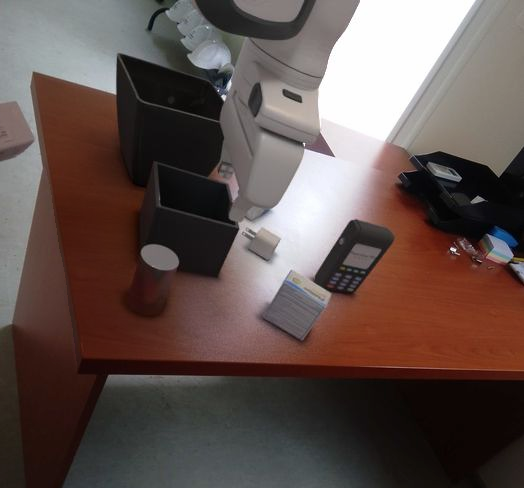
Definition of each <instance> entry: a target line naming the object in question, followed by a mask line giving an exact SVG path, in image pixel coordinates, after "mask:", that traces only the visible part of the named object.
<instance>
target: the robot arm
mask: <svg viewBox="0 0 524 488" xmlns="http://www.w3.org/2000/svg"><path fill="white" fill-rule="evenodd" d="M186 1H187V2H188V3H189V4H190V5H191V7H193V8H194V10H195V11H196V12H197V13H198V14H199V15H200V16H201V17H202V18H203V19H204V20H205V21H206V22H208V23H209V24H210V25H211V26H213V27H215V28H216V29H218V30H220V31H222V32H224V33H228V34H230V35H235V36H239V37H244V40H243V44H242V47H241V48H240V49H241V50H240V52H239V54H238V58H237V61H236V63H235V66H234V69H233V71H232V75H231V78H230V83H231V84H230V87H229V90H228V92H227V93H226V95H225V96H226V97H225V99H224V104H223V107H222V110H221V114H220V125H221V128H222V131H223V135H224V141H223V146H222V153H221V159H220V162H219V164H218V165H217V166H216V167H217V168H216V171H217V173H218V177H219V178H220V179H225V180H229V181H230V180H231V179H232V177H233V175H234V176H235V179H236V183H237V186H238V187H237V188H238V189H237V196H236V198H235V199H233V200H231V203H230V205H229V208H228V215H229V219H230V220H232V221H236V222H238V223H242V222H243V221H244V219H245V217H246V216H245V215H246V213H247V211H249V210H250V209H251V208H252V207H253V206H254V207H258V208H262V209H266V210H269V211H271V210H272V209H273V208H275V207H276V206H277V205H278V204H279V203H280V202H281V200H282V199H283V197H284V195H285V193H286V192H287V190H288V189H289V186H290V185H291V183H292V181H293V179H294V177H295V175H296V173H297V171H298V170H299V167H300V165H301V163H302V161H303V158H304V155H305V149H306V148H305V147H306V145H309V146H312V145H314V143H316V142H317V141H316V140H317V139H318V137H319V135H320V133H321V130H322V121H321V113H320V97H321V90H320V88H321V86H322V84H323V82H324V80H325V77H326V75H328V74H327V73H328V71H329V67H330V63H331V57H332V54H333V52H334V49H335V48H336V46H337V44H338V43H339V42H340V40H341V39H342V38H343V37H344V35H345V34H346V33H347V31H348V30H349V28H350V26H351V24H352V22H353V20H354V18H355V16H356V13H357V11H358V9H359V7H360V5H361V3H362V1H363V0H186ZM305 144H306V145H305Z"/></svg>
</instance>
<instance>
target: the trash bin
mask: <svg viewBox="0 0 524 488" xmlns="http://www.w3.org/2000/svg"><path fill="white" fill-rule="evenodd" d="M231 200H234V199H233V195H232V191H231V188H230V184H229V182H228V183H227V182H225V181H221V180H218V179H214V178H212V177H205V176H202V175H198V174H195V173H192V172H189V171H185V170H182V169H179V168H176V167H172V166H169V165H166V164H163V163H159V162H156V161H154V162H153V166H152V169H151V173H150V177H149V180H148V184H147V186H146V189H145V192H144V195H143V199H142V202H141V206H140V212H139V254H140V253H141V250H142V248H143V247H145V246H146V245H150V244H156V245H161V246H164V247H167V248H169V249H170V250H172V251H173V252H174V253H175V254H176V255H177V257H178V259H179V265H178V267H177V270H180V271H184V272H189V273H193V274H197V275H203V276H208V277H213V278H218V277H219V275H220V274H221V270H222V268H223V267H224V264H225V262H226V260H227V258H228V256H229V253H230V251H231V249H232V247H233V244H234V242H235V240H236V238H237V236H238V235H239V234H238V233H239V231H240V230H241V228H240V224H239V222H236V221H232V220H230V219H229V215H228V208H229V205H230V203H231Z"/></svg>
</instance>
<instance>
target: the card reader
mask: <svg viewBox="0 0 524 488" xmlns="http://www.w3.org/2000/svg"><path fill="white" fill-rule="evenodd" d="M394 241H395V235H394V233H393V232H392V230H391V229H389V228H388V227H386V226H384V225H383V226H382V225H379V224H376V223H372V222H368V221H364V220H361V219H358V218H355V219H350V221H348V223H347V224H346V226H345V227H344V229H343V230H342V232H341V233H340V235H339V236H338V238H337V240H336V241H335V243H334V244H333V246H332V248H331V249H330V251H329V252H328V254H327V255H326V257H325V258H324V260H323V262H322V263H321V265H320V267H319V269H318V270H317V272H316V273H315V275H314V283H315V284H317V285H319V286H320V287H322V288H323V289H325V290H327V291H331V292H337V293H343V294H348V295H350V294H351V295H352V294H354V293H356V292H357V290H358V289H359V288H360V286H361V285H362V284H363V282H365V280H366V279H367V278H368V276H369V275H370V274H371V273H372V271H373V269H374V268H376V266H377V264H378V263H379V262H380V260H382V258H383V256H384V255H385V254H386V253H387V251H388V250H389V249H390V247H391V246H392V245H393V243H394Z"/></svg>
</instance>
